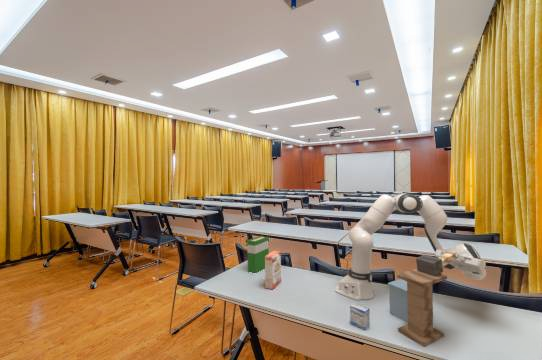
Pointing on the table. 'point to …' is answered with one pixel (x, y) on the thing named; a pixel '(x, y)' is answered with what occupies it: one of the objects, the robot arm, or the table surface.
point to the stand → (420, 307)
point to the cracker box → (272, 269)
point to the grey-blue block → (398, 299)
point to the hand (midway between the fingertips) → (450, 253)
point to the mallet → (434, 263)
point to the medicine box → (359, 316)
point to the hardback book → (257, 253)
